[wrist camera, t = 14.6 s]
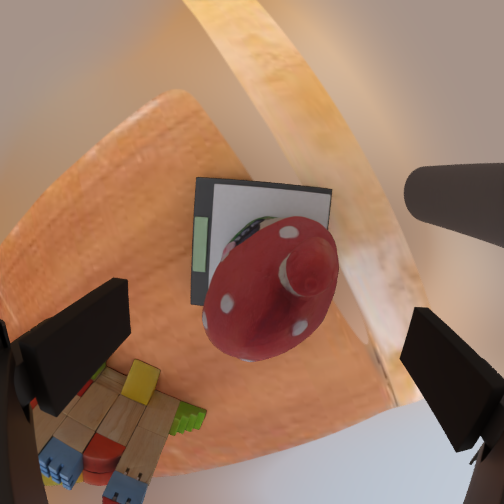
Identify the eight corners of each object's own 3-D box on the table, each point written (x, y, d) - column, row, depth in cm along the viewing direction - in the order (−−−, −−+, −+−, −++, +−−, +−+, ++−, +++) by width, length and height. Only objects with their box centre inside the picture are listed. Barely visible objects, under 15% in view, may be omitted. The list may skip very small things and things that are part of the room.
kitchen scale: (327, 188, 28) (333, 189, 25) (311, 307, 31) (315, 319, 28) (201, 177, 29) (194, 176, 26) (195, 295, 31) (188, 306, 28)
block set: (30, 371, 36) (-40, 437, 17) (28, 298, 33) (-71, 360, 14) (187, 452, 37) (156, 558, 18) (215, 391, 34) (180, 527, 15)
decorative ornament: (291, 191, 26) (320, 201, 11) (334, 252, 26) (400, 329, 12) (205, 254, 27) (138, 331, 12) (249, 310, 28) (230, 426, 13)
